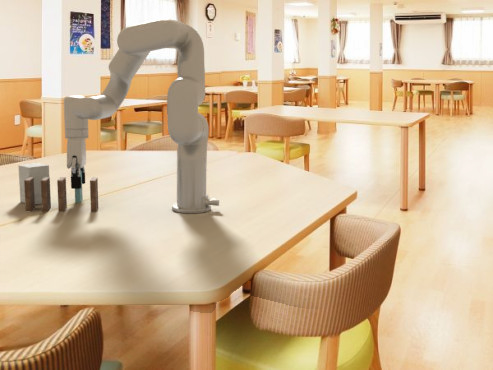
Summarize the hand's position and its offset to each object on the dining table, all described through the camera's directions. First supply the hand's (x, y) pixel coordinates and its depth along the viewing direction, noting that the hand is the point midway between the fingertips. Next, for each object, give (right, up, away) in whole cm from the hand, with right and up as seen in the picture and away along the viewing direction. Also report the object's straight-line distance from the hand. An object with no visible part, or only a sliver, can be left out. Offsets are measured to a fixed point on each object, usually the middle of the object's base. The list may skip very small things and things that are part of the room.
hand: (78, 185), depth 203 cm
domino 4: (0, -5, +1) cm, 5 cm away
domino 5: (+8, -8, -10) cm, 15 cm away
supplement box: (-14, -6, -2) cm, 15 cm away
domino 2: (-7, -8, -11) cm, 15 cm away
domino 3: (-2, -8, -11) cm, 13 cm away
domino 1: (-12, -8, -12) cm, 18 cm away
